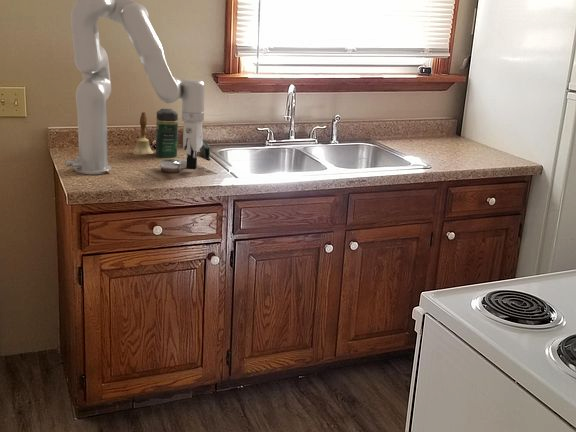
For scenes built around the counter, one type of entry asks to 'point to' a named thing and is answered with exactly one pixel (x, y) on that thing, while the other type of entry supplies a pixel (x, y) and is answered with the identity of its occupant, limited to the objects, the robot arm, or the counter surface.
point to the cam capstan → (173, 165)
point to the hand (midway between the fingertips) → (191, 168)
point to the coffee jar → (166, 133)
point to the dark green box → (205, 150)
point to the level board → (177, 173)
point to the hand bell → (142, 139)
